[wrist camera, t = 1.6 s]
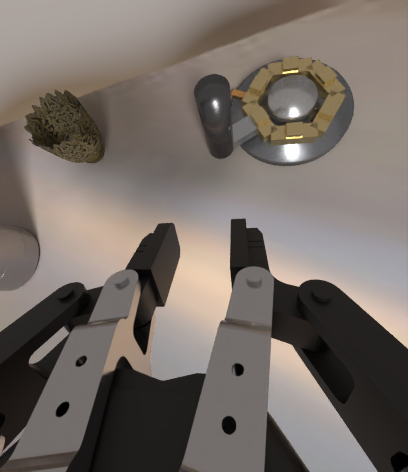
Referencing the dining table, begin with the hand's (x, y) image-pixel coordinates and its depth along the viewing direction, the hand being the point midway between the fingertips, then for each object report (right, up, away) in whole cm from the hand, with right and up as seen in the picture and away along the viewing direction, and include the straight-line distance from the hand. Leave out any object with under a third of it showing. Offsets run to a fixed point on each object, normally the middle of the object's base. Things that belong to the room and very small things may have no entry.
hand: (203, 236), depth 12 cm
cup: (-17, +12, +22) cm, 30 cm away
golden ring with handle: (+8, +15, +16) cm, 24 cm away
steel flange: (+11, +16, +18) cm, 26 cm away
